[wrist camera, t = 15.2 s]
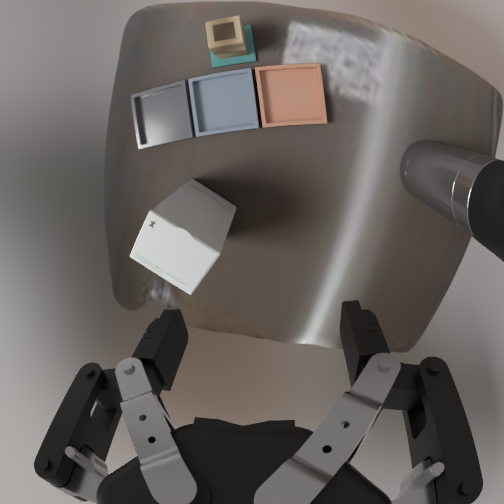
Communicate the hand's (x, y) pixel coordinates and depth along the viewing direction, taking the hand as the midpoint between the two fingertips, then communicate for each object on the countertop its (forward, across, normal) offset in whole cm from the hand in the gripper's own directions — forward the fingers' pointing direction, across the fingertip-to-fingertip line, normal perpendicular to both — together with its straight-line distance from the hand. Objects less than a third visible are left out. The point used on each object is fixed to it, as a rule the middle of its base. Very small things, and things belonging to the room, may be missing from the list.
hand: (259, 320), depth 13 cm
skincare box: (+28, +10, +2) cm, 30 cm away
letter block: (+28, +3, -22) cm, 35 cm away
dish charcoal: (+28, +14, -13) cm, 34 cm away
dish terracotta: (+28, -4, -13) cm, 31 cm away
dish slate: (+28, +5, -13) cm, 31 cm away
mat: (+28, +3, -22) cm, 36 cm away
